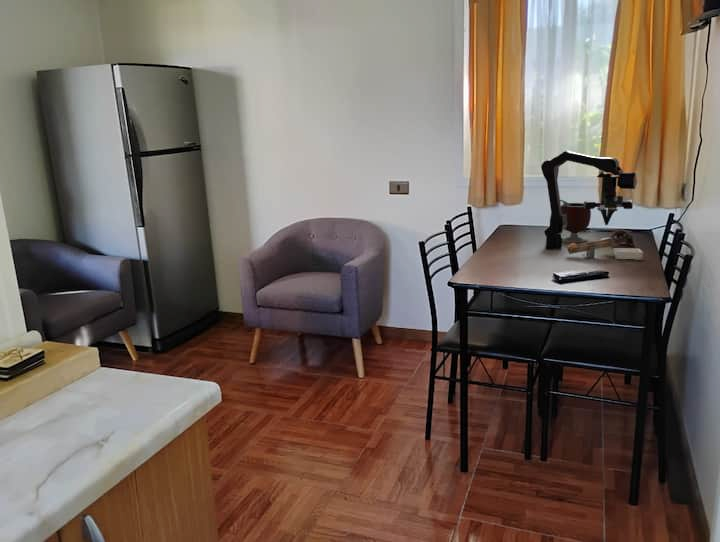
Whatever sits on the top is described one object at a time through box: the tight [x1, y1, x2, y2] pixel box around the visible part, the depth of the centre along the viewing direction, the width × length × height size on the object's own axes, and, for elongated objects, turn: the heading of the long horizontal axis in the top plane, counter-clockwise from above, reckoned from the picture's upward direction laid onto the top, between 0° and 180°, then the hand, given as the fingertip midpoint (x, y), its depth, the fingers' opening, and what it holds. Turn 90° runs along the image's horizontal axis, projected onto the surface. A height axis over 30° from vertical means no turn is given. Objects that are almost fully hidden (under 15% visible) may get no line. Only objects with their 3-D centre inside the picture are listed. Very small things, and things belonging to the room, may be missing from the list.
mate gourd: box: [560, 199, 592, 243], centre depth 288 cm, size 16×14×20 cm
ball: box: [568, 242, 578, 248], centre depth 254 cm, size 3×3×3 cm
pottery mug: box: [610, 229, 635, 247], centre depth 275 cm, size 12×10×8 cm
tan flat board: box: [566, 236, 616, 255], centre depth 257 cm, size 18×14×3 cm
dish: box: [612, 247, 644, 261], centre depth 250 cm, size 10×7×3 cm
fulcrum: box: [582, 247, 600, 260], centre depth 253 cm, size 5×8×5 cm, turn 169°
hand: (606, 225), depth 259 cm, fingers closed
